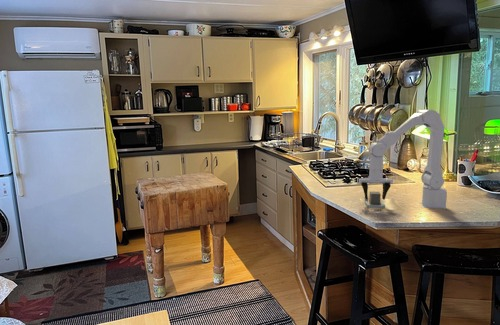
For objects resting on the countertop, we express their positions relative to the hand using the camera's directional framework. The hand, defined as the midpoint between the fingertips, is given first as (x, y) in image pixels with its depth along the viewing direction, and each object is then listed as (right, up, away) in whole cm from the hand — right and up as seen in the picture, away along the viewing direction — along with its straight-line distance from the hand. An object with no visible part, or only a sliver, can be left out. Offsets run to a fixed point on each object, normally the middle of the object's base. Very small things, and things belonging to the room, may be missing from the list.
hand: (374, 198), depth 168 cm
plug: (+1, -2, +5) cm, 5 cm away
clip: (+1, -2, +7) cm, 8 cm away
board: (+4, -3, +3) cm, 6 cm away
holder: (0, -3, +1) cm, 3 cm away
